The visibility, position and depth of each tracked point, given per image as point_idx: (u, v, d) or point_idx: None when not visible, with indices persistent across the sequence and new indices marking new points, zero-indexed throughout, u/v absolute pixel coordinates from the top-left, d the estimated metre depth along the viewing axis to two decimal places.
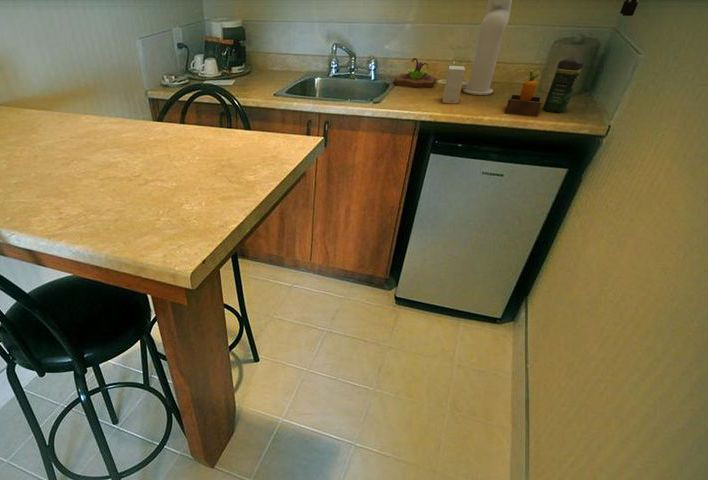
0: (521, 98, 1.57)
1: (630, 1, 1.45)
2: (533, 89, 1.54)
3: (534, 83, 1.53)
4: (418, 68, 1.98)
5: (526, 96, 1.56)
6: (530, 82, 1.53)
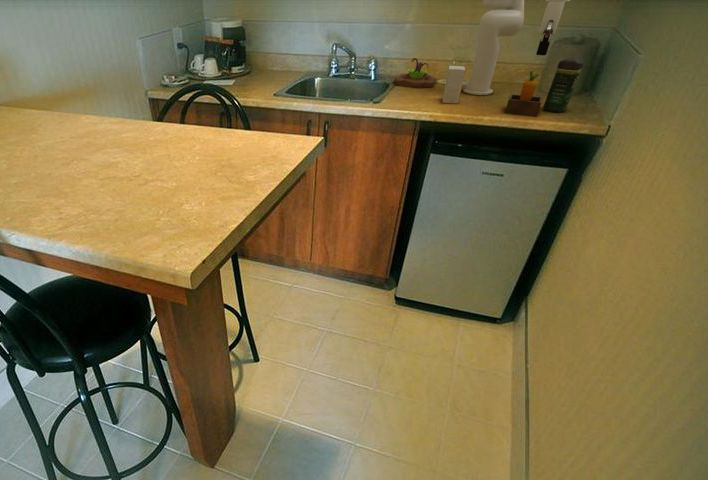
0: (521, 98, 1.57)
1: (542, 41, 1.42)
2: (533, 89, 1.54)
3: (534, 83, 1.53)
4: (418, 68, 1.98)
5: (526, 96, 1.56)
6: (530, 82, 1.53)
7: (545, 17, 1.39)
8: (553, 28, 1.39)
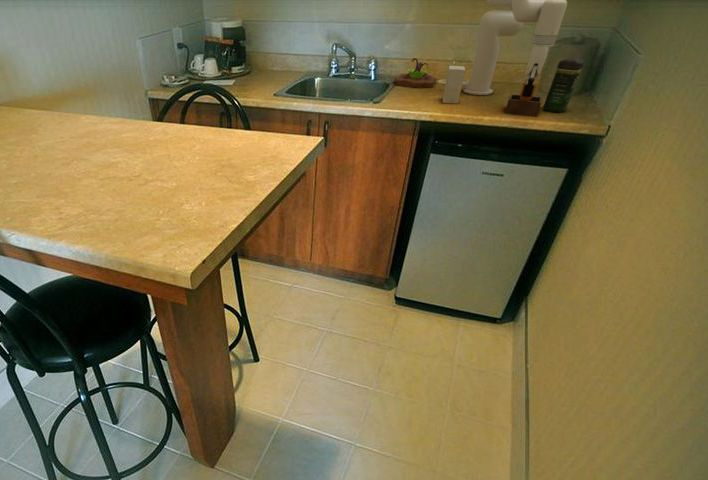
0: (521, 98, 1.57)
1: None
2: (533, 89, 1.54)
3: (534, 83, 1.53)
4: (418, 68, 1.98)
5: None
6: None
7: (530, 60, 1.47)
8: (538, 71, 1.47)
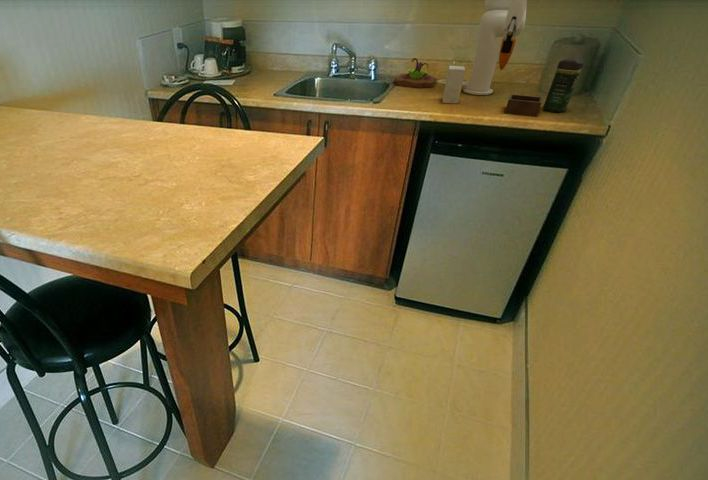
0: (500, 55, 1.53)
1: (505, 39, 1.48)
2: (512, 45, 1.50)
3: (513, 38, 1.49)
4: (418, 68, 1.98)
5: (506, 53, 1.52)
6: None
7: (508, 13, 1.43)
8: (516, 24, 1.44)
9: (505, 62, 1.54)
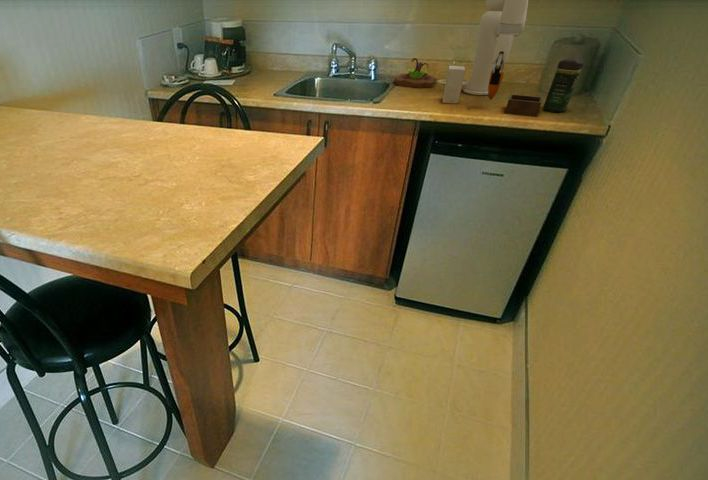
0: (489, 86, 1.60)
1: (494, 72, 1.55)
2: (500, 77, 1.57)
3: (501, 71, 1.56)
4: (418, 68, 1.98)
5: (494, 85, 1.59)
6: None
7: (496, 48, 1.50)
8: (504, 58, 1.51)
9: (494, 93, 1.61)
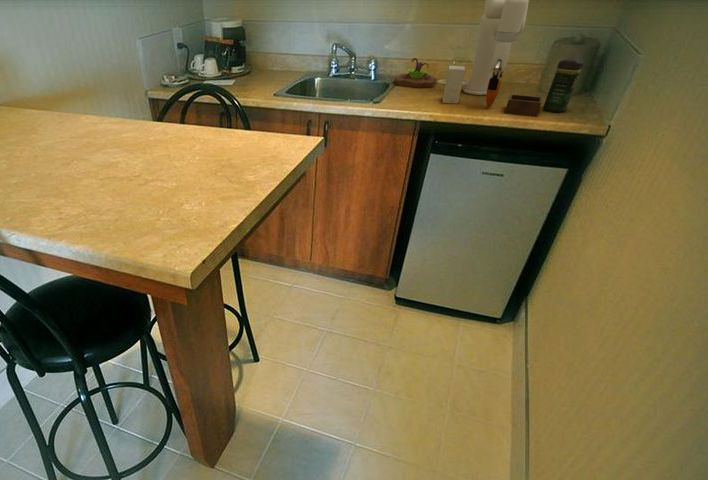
0: (487, 94, 1.62)
1: (492, 77, 1.55)
2: (498, 86, 1.59)
3: (499, 80, 1.58)
4: (418, 68, 1.98)
5: (492, 93, 1.61)
6: None
7: (494, 56, 1.52)
8: (501, 66, 1.52)
9: (492, 101, 1.63)
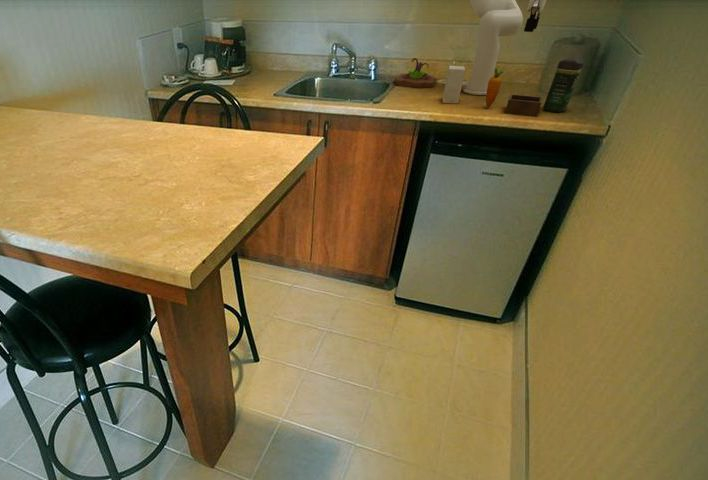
0: (487, 94, 1.62)
1: (529, 18, 1.48)
2: (498, 86, 1.59)
3: (499, 80, 1.58)
4: (418, 68, 1.98)
5: (492, 93, 1.61)
6: (495, 79, 1.58)
7: None
8: (540, 5, 1.46)
9: (492, 101, 1.63)
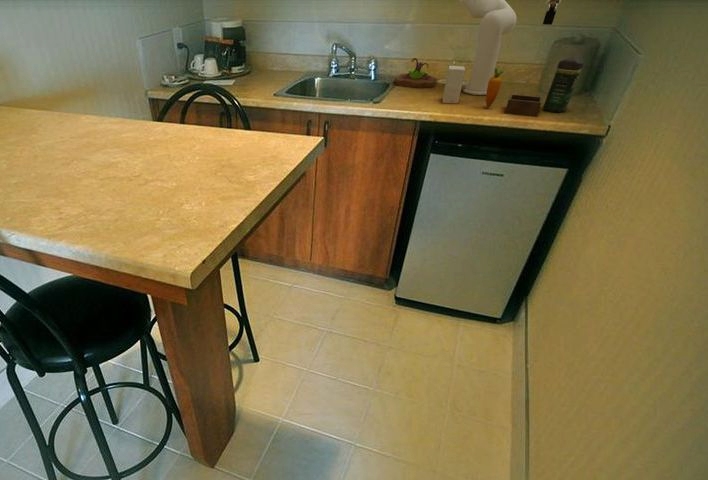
0: (487, 94, 1.62)
1: (548, 10, 1.50)
2: (498, 86, 1.59)
3: (499, 80, 1.58)
4: (418, 68, 1.98)
5: (492, 93, 1.61)
6: (495, 79, 1.58)
7: None
8: None
9: (492, 101, 1.63)
